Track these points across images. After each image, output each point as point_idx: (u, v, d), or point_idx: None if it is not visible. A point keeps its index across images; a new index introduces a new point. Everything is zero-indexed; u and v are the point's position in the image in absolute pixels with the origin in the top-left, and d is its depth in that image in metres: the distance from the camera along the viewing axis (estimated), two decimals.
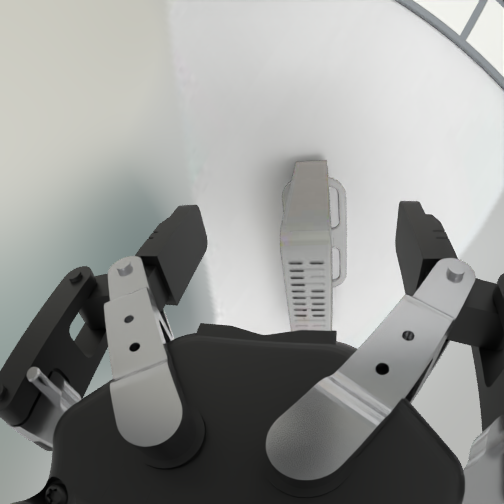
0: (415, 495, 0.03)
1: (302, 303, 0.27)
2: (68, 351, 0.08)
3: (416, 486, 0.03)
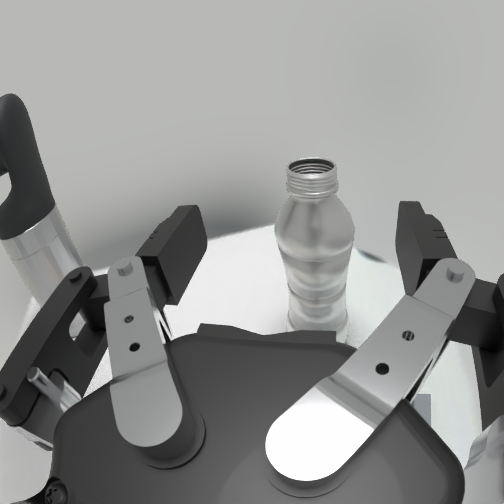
0: (415, 495, 0.03)
1: None
2: (68, 351, 0.08)
3: (416, 486, 0.03)
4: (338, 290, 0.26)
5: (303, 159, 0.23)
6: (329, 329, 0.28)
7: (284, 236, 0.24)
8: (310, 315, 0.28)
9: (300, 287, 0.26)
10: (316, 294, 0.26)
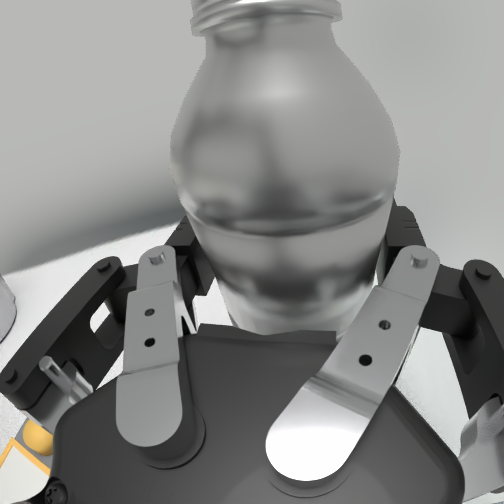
0: (415, 495, 0.03)
1: None
2: (86, 342, 0.08)
3: (416, 486, 0.03)
4: None
5: None
6: None
7: (178, 158, 0.07)
8: None
9: (246, 316, 0.09)
10: None
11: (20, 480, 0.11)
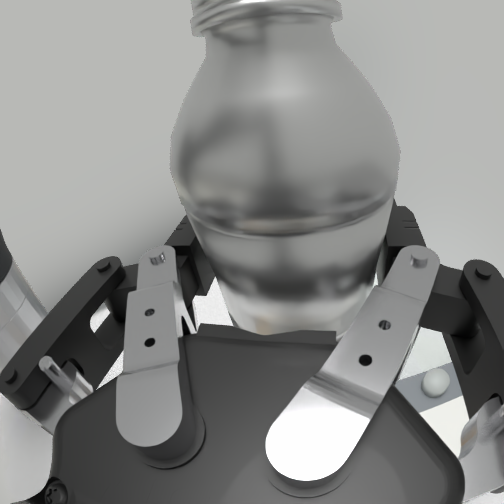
0: (415, 495, 0.03)
1: None
2: (86, 342, 0.08)
3: (416, 486, 0.03)
4: None
5: None
6: None
7: (179, 158, 0.07)
8: None
9: (247, 316, 0.09)
10: None
11: None
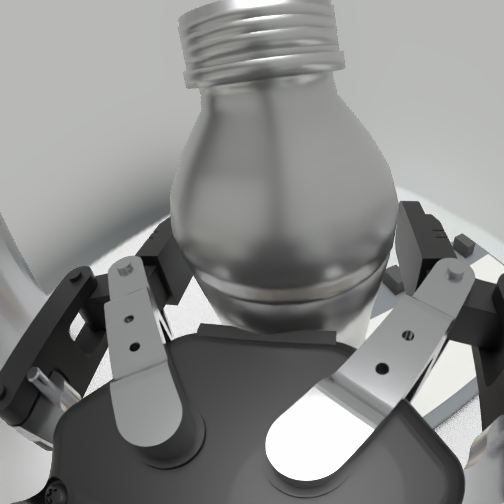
0: (415, 495, 0.03)
1: None
2: (68, 351, 0.08)
3: (416, 486, 0.03)
4: None
5: None
6: None
7: (179, 223, 0.07)
8: None
9: None
10: None
11: None
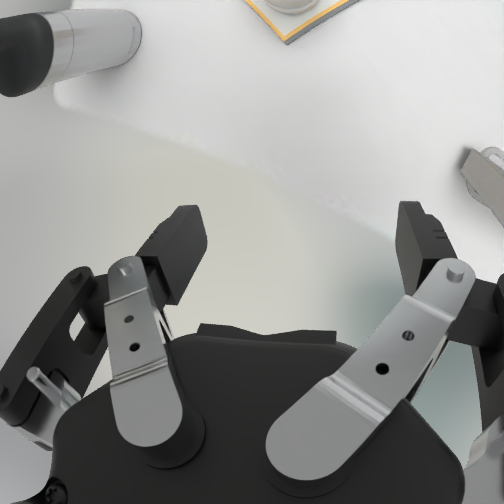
0: (415, 495, 0.03)
1: None
2: (68, 351, 0.08)
3: (416, 486, 0.03)
4: None
5: None
6: (303, 3, 0.23)
7: None
8: (284, 2, 0.22)
9: None
10: None
11: None
